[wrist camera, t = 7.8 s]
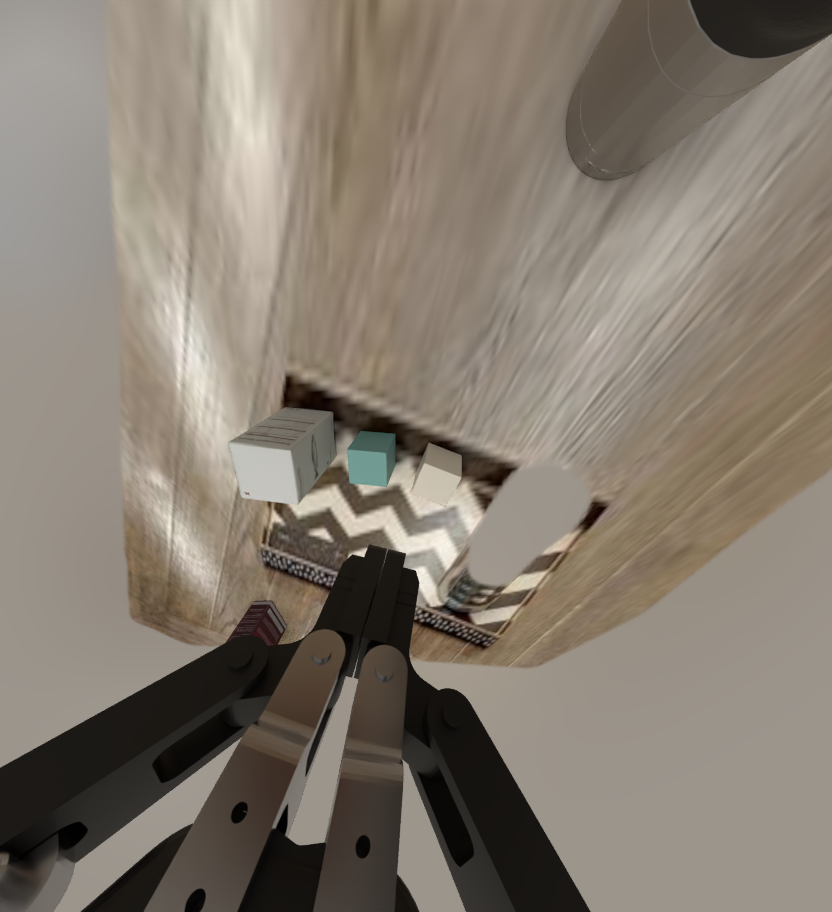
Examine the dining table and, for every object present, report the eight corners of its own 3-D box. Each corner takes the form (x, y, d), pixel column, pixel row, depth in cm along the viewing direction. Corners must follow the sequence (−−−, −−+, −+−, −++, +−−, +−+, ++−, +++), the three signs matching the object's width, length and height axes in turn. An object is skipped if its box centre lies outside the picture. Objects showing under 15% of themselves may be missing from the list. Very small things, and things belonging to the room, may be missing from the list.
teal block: (360, 430, 45) (347, 449, 39) (395, 433, 44) (386, 453, 39) (362, 461, 47) (349, 483, 42) (395, 464, 47) (386, 486, 41)
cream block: (428, 442, 44) (424, 463, 39) (461, 455, 44) (461, 477, 39) (416, 470, 47) (410, 493, 41) (448, 482, 47) (446, 506, 42)
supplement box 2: (252, 600, 66) (196, 682, 53) (272, 600, 65) (220, 683, 52) (269, 627, 70) (221, 710, 56) (288, 626, 69) (244, 711, 55)
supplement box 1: (337, 457, 47) (299, 507, 36) (290, 451, 48) (238, 499, 37) (335, 410, 44) (291, 450, 33) (284, 404, 44) (224, 442, 33)
